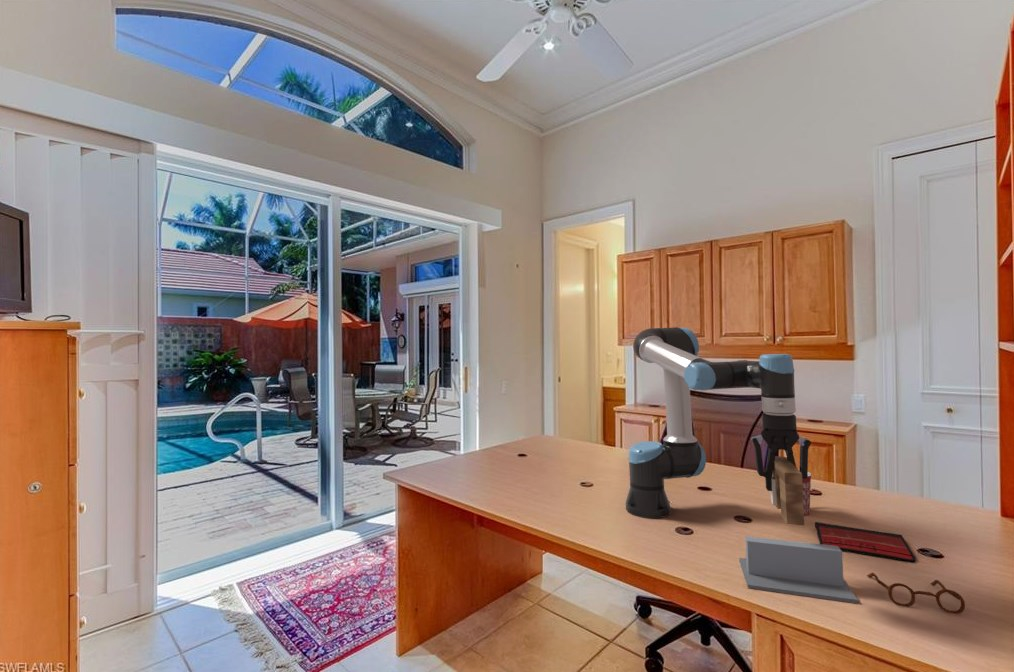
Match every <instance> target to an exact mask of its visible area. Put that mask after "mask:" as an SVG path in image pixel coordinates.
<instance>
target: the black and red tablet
mask: <svg viewBox="0 0 1014 672" xmlns="http://www.w3.org/2000/svg"><path fill="white" fill-rule="evenodd" d="M814 527H815V528H816V531H817V532H816V535H817V539H818V541H819V544H823V545H832V546H838V547H839V548H840V550H841V551H842V552H847V553H848V552H849V553H854V554H861V555H868V556H873V557H880V558H887V559H892V560H895V561H896V560H897V561H901V562H904V563H909V562H910V563H911V564H912V563H916V562H917V558H916V556H915V555H914V552H913V551H912V550H911V547H910V545H909V544H908V543H907V541H906V539H905V538H904V537H903V535H902V534H898V533H891V532H885V531H878V530H872V529H865V528H864V529H863V528H859V527H858V528H857V527H851V526H850V527H849V526H843V525H837V524H831V523H825V522H817V521H815V522H814Z"/></svg>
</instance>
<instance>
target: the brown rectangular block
mask: <svg viewBox="0 0 1014 672" xmlns="http://www.w3.org/2000/svg"><path fill="white" fill-rule="evenodd" d="M796 467H797V466H796ZM796 467H795V466H794V465H793V464H792V463H791V462H790V461H789V460H788V459H787V456H779V455H775V460H774V467H773V474H772V477H773V478H774V479H775V486H776V505H774V506H775V507H776V509H777V510H780V516H781V517H782V519H783V520H784V522H785V524H786V525H792V526H793V525H794V526H801V527H803V526H804V527H805V516H804V506H803V485H802V473H801V472H800V471H799V469H798V468H796Z"/></svg>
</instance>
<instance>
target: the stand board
mask: <svg viewBox="0 0 1014 672" xmlns="http://www.w3.org/2000/svg"><path fill="white" fill-rule="evenodd" d="M738 559H739V561H738V562H739V564H740V567H741V571H742V573H743V576H744V579H745V583H746V585H747V588H748V589H752V590H753V589H754V590H760V591H767V592H773V593H774V592H775V593H779V594H780V593H781V594H789V595H795V596H801V597H802V596H803V597H808V598H809V597H810V598H816V599H825V600H829V601H830V600H831V601H838V602H845V603H851V604H856V605H857V604H859V599H858V598H857V597H856V594H854V592H853V590H851V588H850V587H849V586H848V584H847V583H846V582H845V580H844V565H843V564H844V563H843V551H841V550H840V548H839V547H838V546H832V545H823V544H820V543H813V542H803V541H793V540H784V539H776V538H775V539H774V538H765V537H755V536H748V535H746V536H745V558H743V557H739V558H738Z"/></svg>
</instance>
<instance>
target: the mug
mask: <svg viewBox="0 0 1014 672" xmlns="http://www.w3.org/2000/svg"><path fill="white" fill-rule="evenodd" d="M812 475H813V474H812V473H811V472H809V471H808V476H807V478H806V479H802V485H803V506H804V517H805V516H809V515H810V514H811V484H812V483H811V482H812V480H811V479H812Z"/></svg>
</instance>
